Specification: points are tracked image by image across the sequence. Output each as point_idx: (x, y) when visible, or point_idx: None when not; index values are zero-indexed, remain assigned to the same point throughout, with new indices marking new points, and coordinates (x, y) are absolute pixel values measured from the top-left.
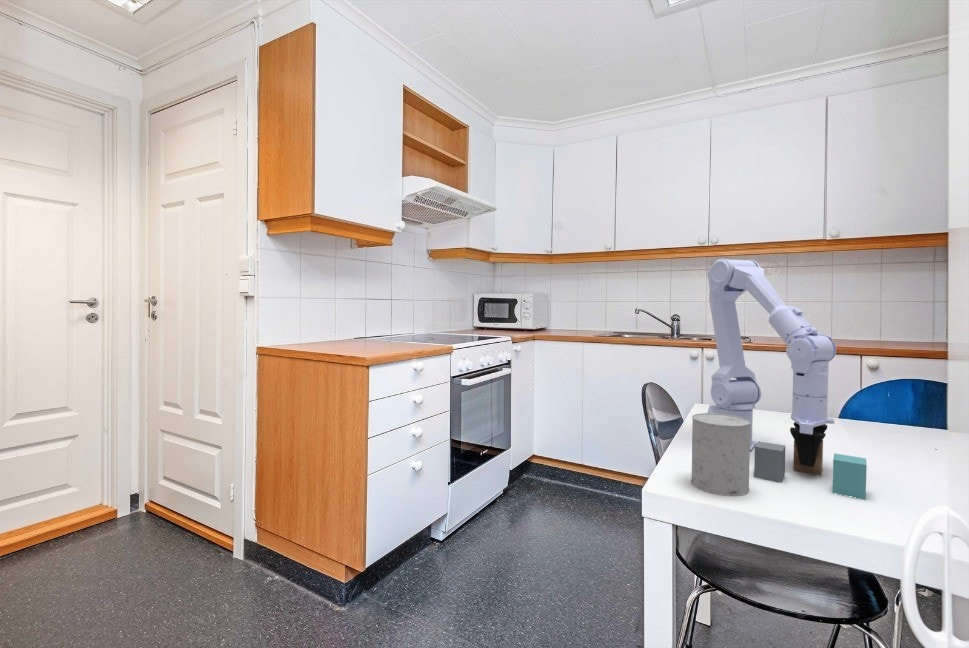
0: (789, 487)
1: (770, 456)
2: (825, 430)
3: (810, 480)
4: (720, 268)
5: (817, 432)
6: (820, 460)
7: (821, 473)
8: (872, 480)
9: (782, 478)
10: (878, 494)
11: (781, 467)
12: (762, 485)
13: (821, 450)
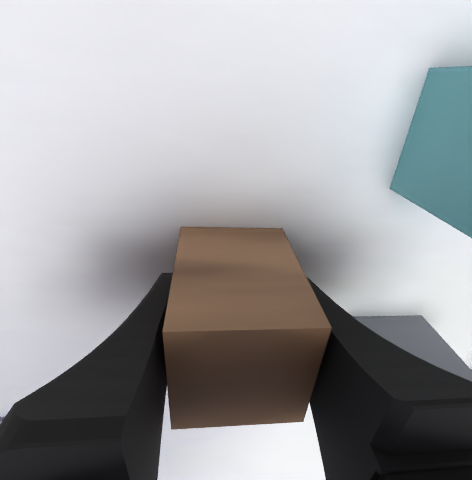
0: (459, 296)
1: None
2: (135, 401)
3: (361, 255)
4: None
5: (398, 444)
6: (300, 269)
7: (260, 230)
8: (213, 6)
9: (414, 323)
10: (454, 5)
11: (457, 358)
12: (461, 345)
13: (318, 304)
